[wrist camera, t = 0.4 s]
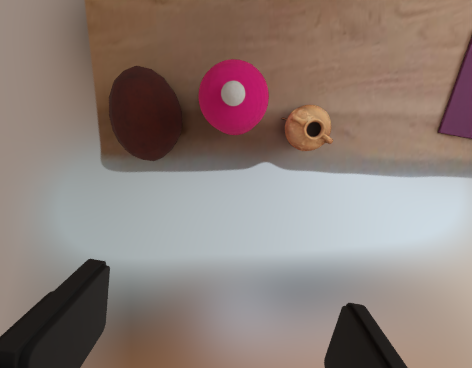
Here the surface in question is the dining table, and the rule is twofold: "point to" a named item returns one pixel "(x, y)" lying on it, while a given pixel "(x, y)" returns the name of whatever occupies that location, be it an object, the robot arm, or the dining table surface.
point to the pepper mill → (233, 96)
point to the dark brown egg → (144, 113)
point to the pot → (308, 128)
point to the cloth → (460, 102)
